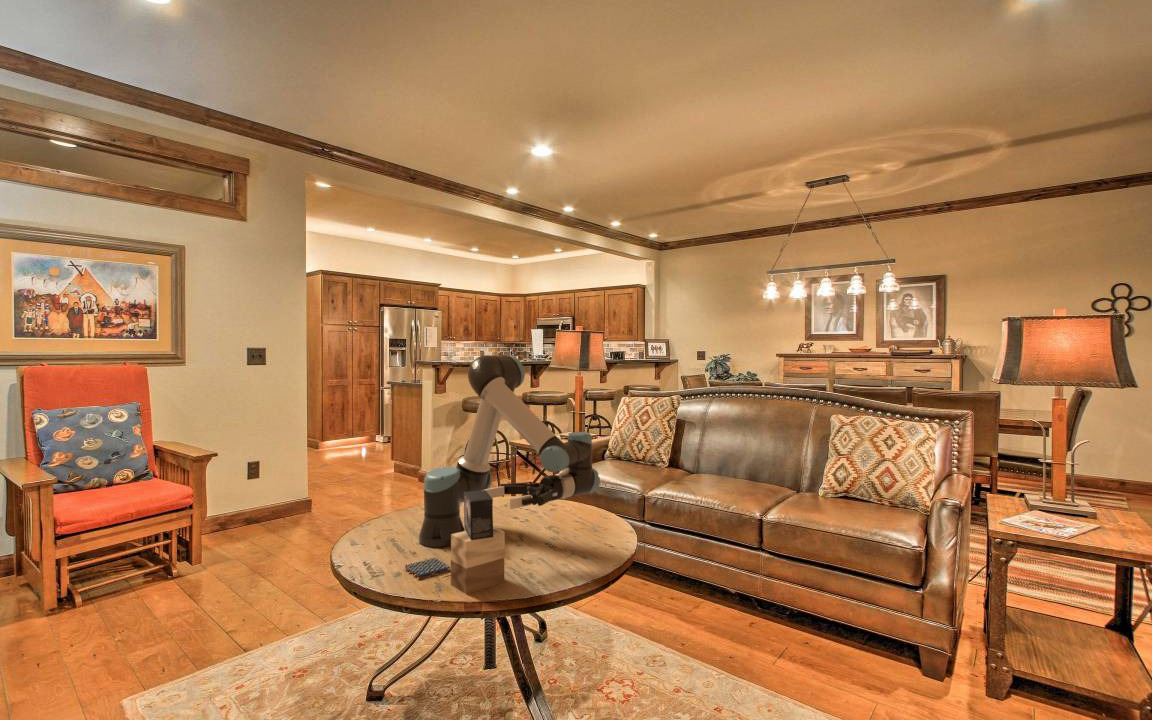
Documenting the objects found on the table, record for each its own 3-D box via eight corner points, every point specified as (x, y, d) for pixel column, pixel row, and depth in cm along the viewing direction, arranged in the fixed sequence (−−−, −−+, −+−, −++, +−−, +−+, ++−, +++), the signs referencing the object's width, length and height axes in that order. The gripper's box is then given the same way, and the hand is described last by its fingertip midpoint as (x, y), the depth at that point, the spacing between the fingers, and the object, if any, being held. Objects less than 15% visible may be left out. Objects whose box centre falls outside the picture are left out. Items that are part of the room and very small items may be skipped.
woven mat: (435, 562, 169) (435, 555, 169) (452, 573, 161) (452, 566, 161) (402, 571, 162) (402, 564, 162) (418, 582, 154) (418, 575, 154)
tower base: (450, 585, 152) (450, 559, 152) (488, 573, 160) (488, 549, 160) (465, 594, 146) (465, 568, 146) (504, 582, 154) (504, 556, 154)
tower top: (451, 560, 151) (450, 534, 151) (489, 549, 159) (489, 525, 159) (466, 568, 145) (465, 541, 145) (504, 557, 153) (504, 532, 153)
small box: (462, 528, 156) (462, 491, 156) (485, 526, 158) (485, 489, 158) (469, 540, 146) (469, 500, 146) (494, 537, 149) (494, 498, 148)
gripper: (583, 507, 162) (523, 522, 148) (532, 491, 181) (474, 503, 167) (583, 481, 162) (522, 494, 148) (532, 468, 180) (474, 478, 167)
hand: (497, 499), depth 157 cm, fingers open, 13 cm apart
